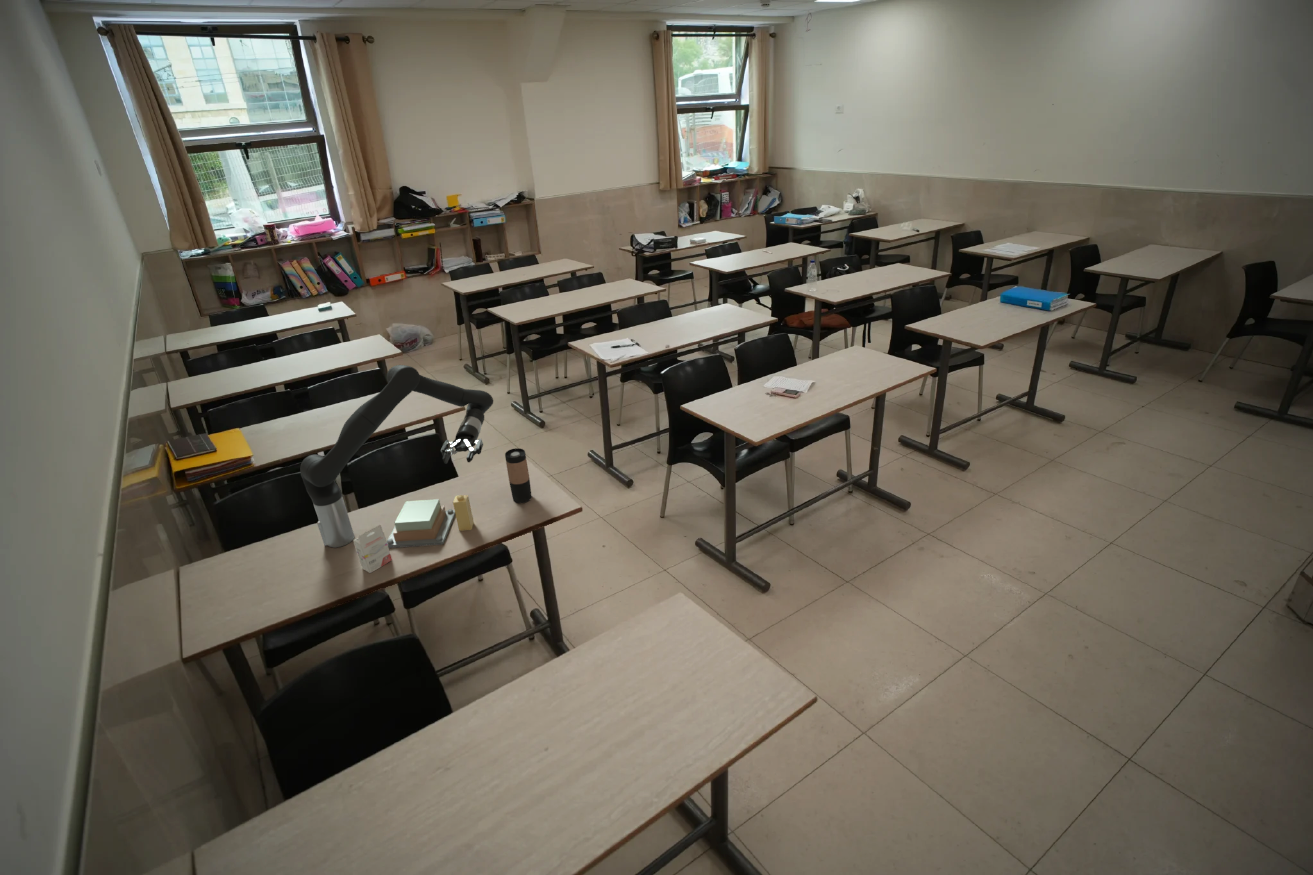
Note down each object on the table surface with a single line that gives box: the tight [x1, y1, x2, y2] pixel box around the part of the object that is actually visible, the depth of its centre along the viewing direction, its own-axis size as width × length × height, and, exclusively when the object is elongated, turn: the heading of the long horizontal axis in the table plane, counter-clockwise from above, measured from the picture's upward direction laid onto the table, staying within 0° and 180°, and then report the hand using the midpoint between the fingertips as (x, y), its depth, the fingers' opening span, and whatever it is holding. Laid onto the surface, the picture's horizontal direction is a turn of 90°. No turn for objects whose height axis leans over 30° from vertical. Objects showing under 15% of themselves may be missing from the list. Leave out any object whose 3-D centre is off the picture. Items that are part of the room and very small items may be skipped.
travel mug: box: [504, 447, 532, 504], centre depth 248 cm, size 8×8×20 cm
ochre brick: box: [452, 494, 475, 532], centre depth 234 cm, size 4×4×13 cm
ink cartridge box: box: [352, 524, 393, 574], centre depth 216 cm, size 9×5×15 cm, turn 143°
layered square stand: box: [386, 498, 456, 549], centre depth 235 cm, size 20×20×8 cm
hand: (456, 461), depth 230 cm, fingers open, 8 cm apart
